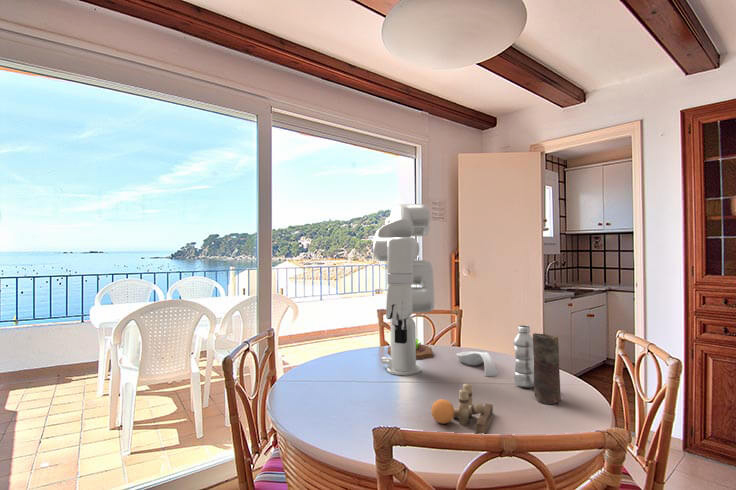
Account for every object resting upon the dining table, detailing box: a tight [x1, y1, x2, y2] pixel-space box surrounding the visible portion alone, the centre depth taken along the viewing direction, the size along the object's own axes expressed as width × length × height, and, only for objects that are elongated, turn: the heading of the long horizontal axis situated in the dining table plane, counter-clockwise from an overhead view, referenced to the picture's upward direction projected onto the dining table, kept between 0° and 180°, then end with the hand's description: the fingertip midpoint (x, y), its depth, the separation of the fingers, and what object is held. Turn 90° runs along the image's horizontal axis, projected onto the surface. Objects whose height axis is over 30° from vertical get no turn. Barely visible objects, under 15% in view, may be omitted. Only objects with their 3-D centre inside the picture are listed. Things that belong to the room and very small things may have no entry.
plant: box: [387, 338, 434, 361], centre depth 177 cm, size 20×20×11 cm
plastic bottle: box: [513, 325, 534, 388], centre depth 134 cm, size 6×7×20 cm
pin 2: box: [458, 389, 470, 426], centre depth 106 cm, size 2×2×8 cm
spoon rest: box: [456, 351, 498, 378], centre depth 156 cm, size 24×12×7 cm, turn 9°
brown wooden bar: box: [475, 403, 494, 434], centre depth 106 cm, size 2×14×2 cm, turn 155°
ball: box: [430, 398, 455, 425], centre depth 106 cm, size 6×6×6 cm
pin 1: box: [462, 383, 473, 419], centre depth 110 cm, size 2×2×8 cm
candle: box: [532, 332, 562, 405], centre depth 122 cm, size 8×7×20 cm
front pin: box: [453, 402, 484, 419], centre depth 108 cm, size 2×2×8 cm
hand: (400, 342), depth 116 cm, fingers closed
